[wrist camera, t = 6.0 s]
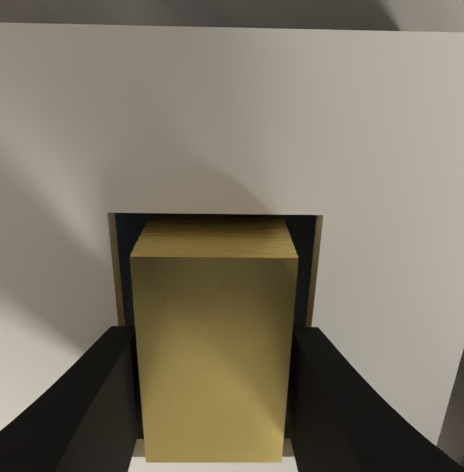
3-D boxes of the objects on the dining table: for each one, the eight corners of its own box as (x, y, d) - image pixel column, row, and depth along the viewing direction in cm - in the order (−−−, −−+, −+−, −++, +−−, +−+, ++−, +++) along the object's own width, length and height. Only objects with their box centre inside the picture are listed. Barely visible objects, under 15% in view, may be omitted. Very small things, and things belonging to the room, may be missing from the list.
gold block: (262, 331, 14) (281, 462, 10) (171, 331, 14) (146, 462, 10) (271, 184, 12) (298, 257, 8) (165, 182, 12) (129, 256, 8)
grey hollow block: (352, 387, 19) (410, 539, 13) (80, 387, 19) (13, 541, 13) (408, 42, 14) (551, 34, 8) (27, 34, 13) (-130, 19, 7)
